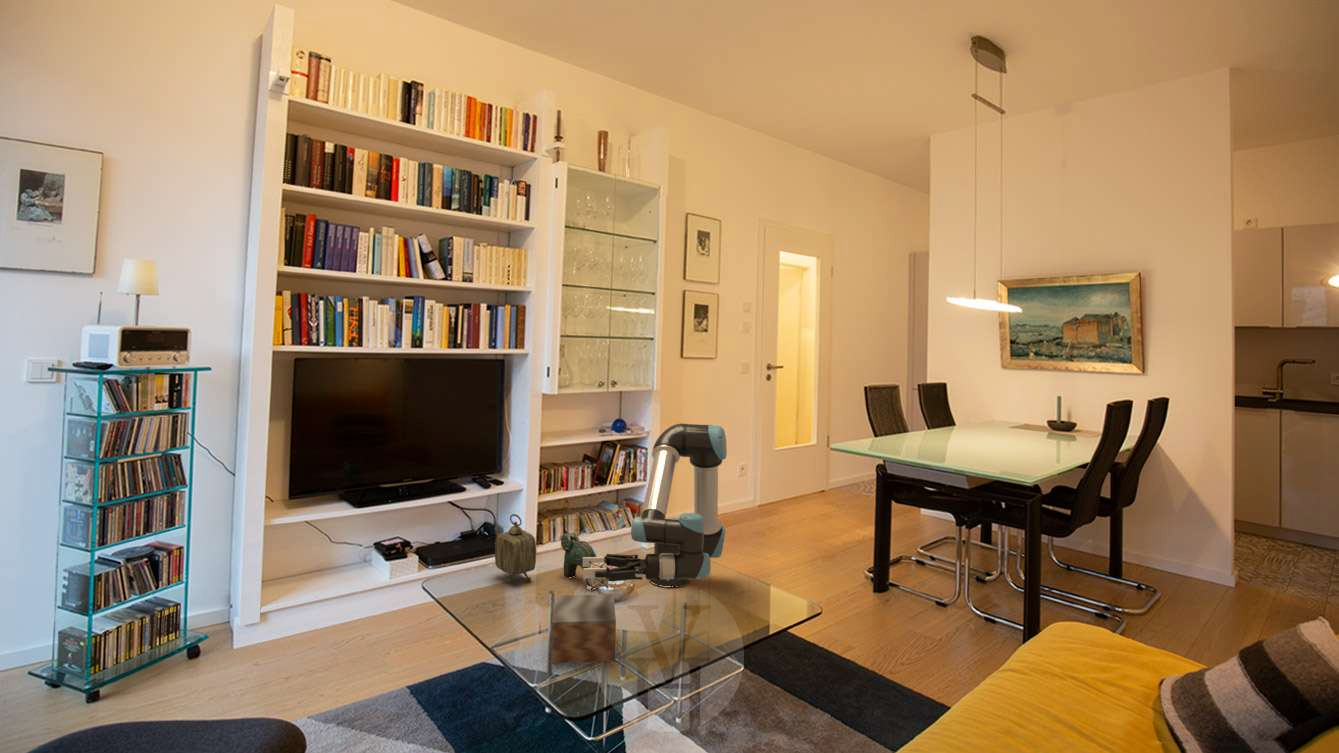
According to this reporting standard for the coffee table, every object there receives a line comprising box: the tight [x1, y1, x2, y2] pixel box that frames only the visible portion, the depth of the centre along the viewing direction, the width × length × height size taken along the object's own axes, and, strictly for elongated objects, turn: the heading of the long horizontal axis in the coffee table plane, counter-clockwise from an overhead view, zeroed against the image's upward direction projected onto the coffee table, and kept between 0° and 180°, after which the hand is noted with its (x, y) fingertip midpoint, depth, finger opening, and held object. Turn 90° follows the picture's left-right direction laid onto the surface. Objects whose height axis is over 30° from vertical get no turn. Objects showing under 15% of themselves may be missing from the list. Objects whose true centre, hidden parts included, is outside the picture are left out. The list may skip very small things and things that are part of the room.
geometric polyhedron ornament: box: [587, 559, 610, 591], centre depth 190 cm, size 9×8×10 cm
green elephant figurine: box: [560, 528, 597, 586], centre depth 239 cm, size 20×6×20 cm, turn 42°
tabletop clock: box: [494, 513, 537, 583], centre depth 239 cm, size 14×9×25 cm, turn 48°
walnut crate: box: [551, 593, 617, 664], centre depth 192 cm, size 18×18×12 cm
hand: (583, 567), depth 190 cm, fingers closed on geometric polyhedron ornament, 8 cm apart
